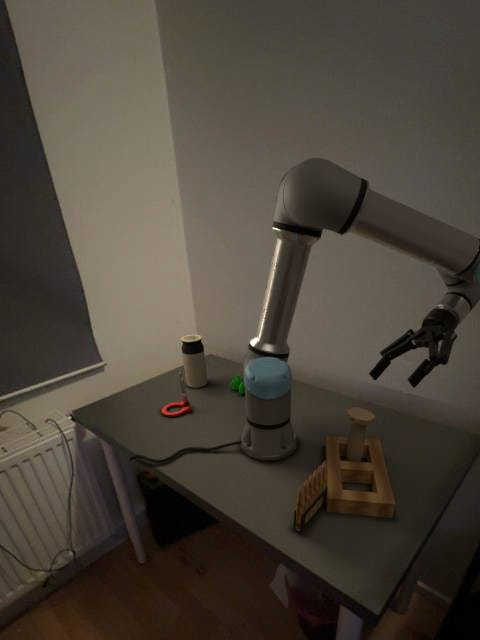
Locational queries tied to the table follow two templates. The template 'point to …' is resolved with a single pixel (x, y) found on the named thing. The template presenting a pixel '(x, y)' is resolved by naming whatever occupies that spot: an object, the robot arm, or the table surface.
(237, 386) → the green lumpy cluster
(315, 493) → the ammunition clip
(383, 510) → the rack
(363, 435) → the handle
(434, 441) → the table surface
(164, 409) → the tow hook
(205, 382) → the travel mug
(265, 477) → the table surface
